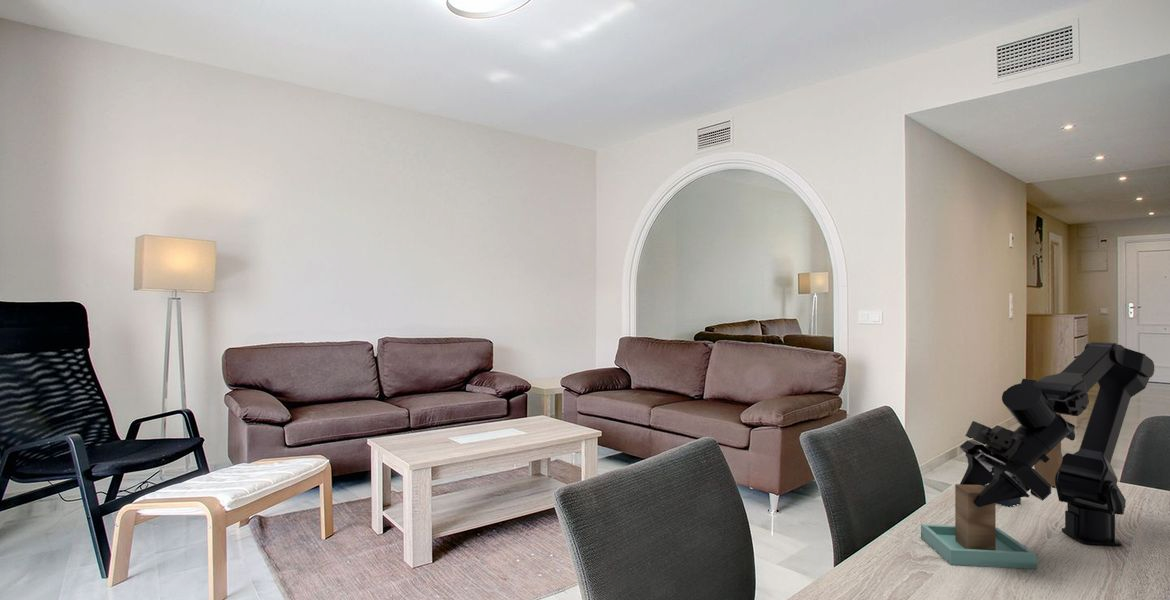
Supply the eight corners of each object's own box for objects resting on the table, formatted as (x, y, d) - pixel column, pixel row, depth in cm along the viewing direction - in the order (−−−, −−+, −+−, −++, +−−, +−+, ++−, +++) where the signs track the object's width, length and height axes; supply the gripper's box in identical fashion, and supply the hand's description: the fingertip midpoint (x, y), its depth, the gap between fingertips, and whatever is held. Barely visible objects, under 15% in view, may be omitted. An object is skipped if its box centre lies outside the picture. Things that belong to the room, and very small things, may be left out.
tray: (997, 540, 110) (997, 527, 110) (1036, 569, 99) (1036, 554, 99) (920, 537, 112) (920, 524, 112) (950, 564, 100) (950, 550, 100)
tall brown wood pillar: (981, 541, 107) (981, 485, 107) (995, 552, 103) (995, 493, 102) (955, 540, 108) (955, 484, 108) (968, 551, 103) (968, 492, 103)
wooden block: (1085, 489, 140) (1085, 414, 140) (1081, 493, 137) (1080, 416, 137) (1038, 480, 147) (1038, 408, 147) (1033, 483, 144) (1033, 411, 144)
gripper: (970, 398, 114) (911, 453, 115) (1031, 418, 95) (959, 482, 97) (1014, 439, 113) (953, 494, 114) (1084, 467, 94) (1010, 532, 96)
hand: (966, 499), depth 105 cm, fingers open, 6 cm apart
